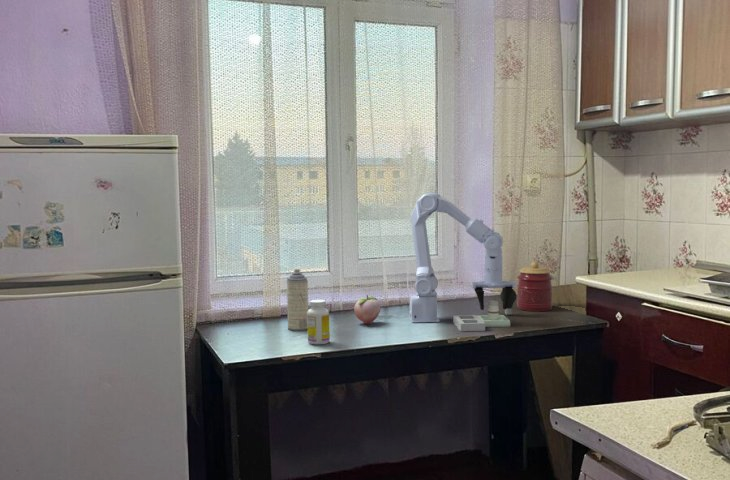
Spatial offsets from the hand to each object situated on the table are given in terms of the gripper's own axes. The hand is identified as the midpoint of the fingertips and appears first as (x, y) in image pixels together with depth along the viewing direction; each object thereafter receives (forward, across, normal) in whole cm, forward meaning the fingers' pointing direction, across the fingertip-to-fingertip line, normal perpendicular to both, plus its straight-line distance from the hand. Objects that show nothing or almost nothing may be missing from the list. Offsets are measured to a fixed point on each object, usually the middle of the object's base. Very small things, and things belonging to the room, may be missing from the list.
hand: (493, 309), depth 236 cm
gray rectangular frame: (+5, -9, -4) cm, 11 cm away
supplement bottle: (+5, -58, -20) cm, 62 cm away
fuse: (+4, 0, 0) cm, 4 cm away
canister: (+5, +21, +24) cm, 33 cm away
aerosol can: (+5, -66, -1) cm, 66 cm away
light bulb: (+5, +8, +13) cm, 16 cm away
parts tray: (+5, 0, 0) cm, 5 cm away
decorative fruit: (+5, -42, +4) cm, 43 cm away
